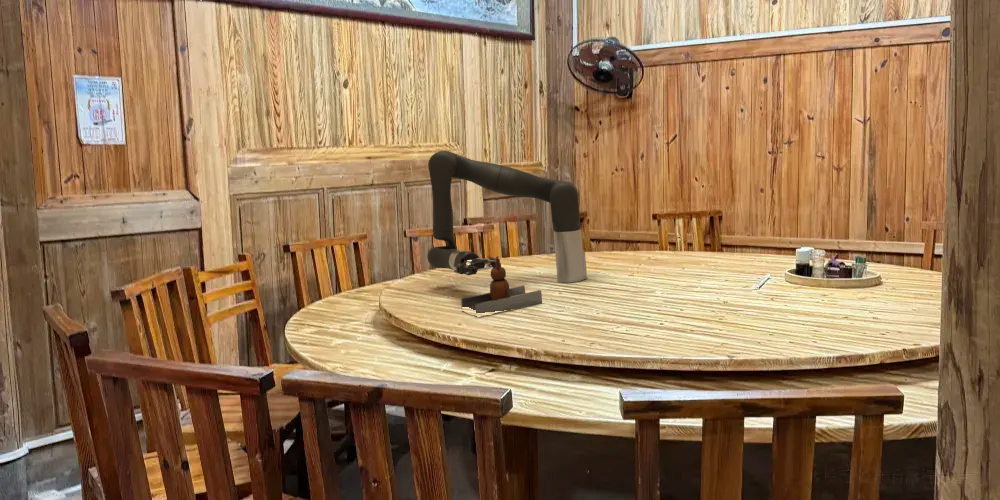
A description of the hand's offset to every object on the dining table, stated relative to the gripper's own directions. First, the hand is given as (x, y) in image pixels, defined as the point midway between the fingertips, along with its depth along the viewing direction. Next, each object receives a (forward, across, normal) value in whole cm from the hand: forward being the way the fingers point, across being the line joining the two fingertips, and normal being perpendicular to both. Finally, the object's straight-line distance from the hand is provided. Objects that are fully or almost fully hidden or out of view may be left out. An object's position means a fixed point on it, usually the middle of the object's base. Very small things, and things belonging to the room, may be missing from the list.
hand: (487, 268), depth 259 cm
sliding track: (+7, 0, +11) cm, 13 cm away
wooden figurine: (+7, 0, +10) cm, 12 cm away
